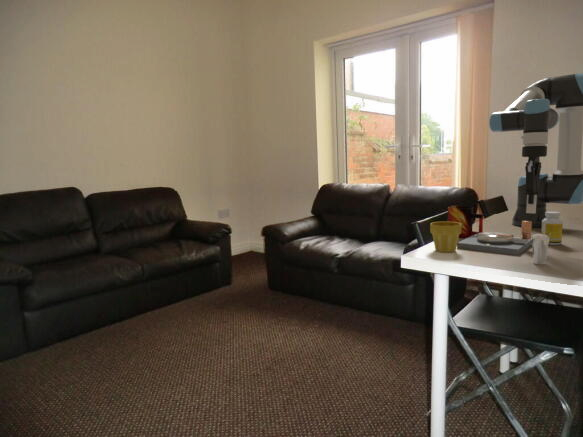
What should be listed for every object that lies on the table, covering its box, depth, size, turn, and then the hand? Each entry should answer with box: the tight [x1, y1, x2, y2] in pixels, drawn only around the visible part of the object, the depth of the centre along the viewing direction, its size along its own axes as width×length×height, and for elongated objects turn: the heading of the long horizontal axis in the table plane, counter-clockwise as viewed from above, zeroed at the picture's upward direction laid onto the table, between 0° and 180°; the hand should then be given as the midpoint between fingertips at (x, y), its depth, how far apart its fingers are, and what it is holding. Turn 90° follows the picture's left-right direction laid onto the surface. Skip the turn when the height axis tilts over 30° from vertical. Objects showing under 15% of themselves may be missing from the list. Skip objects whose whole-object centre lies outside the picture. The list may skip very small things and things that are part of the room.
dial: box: [477, 221, 533, 244], centre depth 151 cm, size 18×12×8 cm
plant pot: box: [429, 220, 461, 254], centre depth 149 cm, size 10×10×10 cm
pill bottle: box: [540, 211, 563, 246], centre depth 155 cm, size 6×6×12 cm
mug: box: [447, 205, 484, 239], centre depth 173 cm, size 10×14×12 cm
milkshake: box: [531, 233, 551, 266], centre depth 128 cm, size 4×5×10 cm
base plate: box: [456, 234, 533, 256], centre depth 154 cm, size 20×20×2 cm
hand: (530, 212), depth 150 cm, fingers closed
